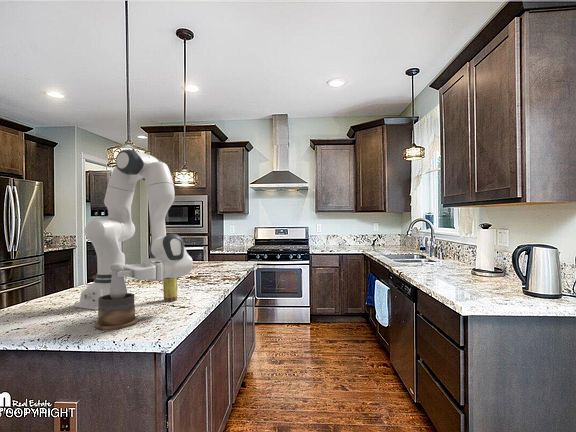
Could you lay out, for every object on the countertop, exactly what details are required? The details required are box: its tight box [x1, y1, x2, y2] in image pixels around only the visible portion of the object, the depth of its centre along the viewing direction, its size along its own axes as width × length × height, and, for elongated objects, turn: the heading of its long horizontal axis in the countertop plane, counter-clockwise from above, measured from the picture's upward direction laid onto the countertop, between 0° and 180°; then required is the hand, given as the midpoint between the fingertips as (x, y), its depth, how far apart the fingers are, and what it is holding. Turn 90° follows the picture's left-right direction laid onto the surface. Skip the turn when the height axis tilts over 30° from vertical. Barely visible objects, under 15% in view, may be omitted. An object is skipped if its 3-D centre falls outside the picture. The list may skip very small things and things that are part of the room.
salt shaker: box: [110, 263, 128, 300], centre depth 121 cm, size 6×6×13 cm
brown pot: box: [94, 292, 139, 331], centre depth 121 cm, size 14×14×10 cm
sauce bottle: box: [162, 277, 178, 302], centre depth 156 cm, size 7×6×20 cm
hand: (114, 273), depth 120 cm, fingers closed on salt shaker, 3 cm apart
